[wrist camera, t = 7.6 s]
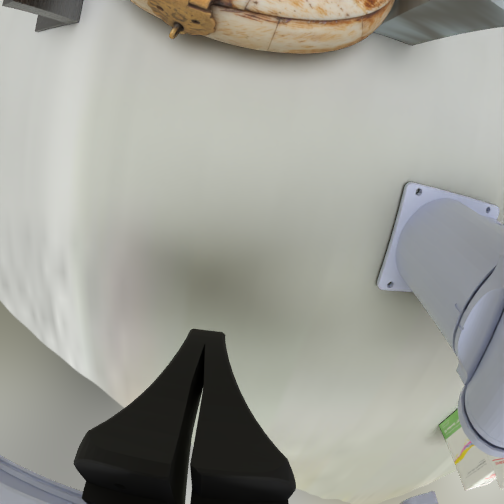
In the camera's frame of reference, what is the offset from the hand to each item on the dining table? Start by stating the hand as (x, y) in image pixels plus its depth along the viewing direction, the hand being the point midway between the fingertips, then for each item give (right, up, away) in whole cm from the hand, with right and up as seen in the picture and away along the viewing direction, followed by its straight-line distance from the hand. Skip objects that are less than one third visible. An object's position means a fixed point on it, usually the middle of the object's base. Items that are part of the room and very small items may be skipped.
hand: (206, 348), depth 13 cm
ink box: (+32, -20, +20) cm, 43 cm away
